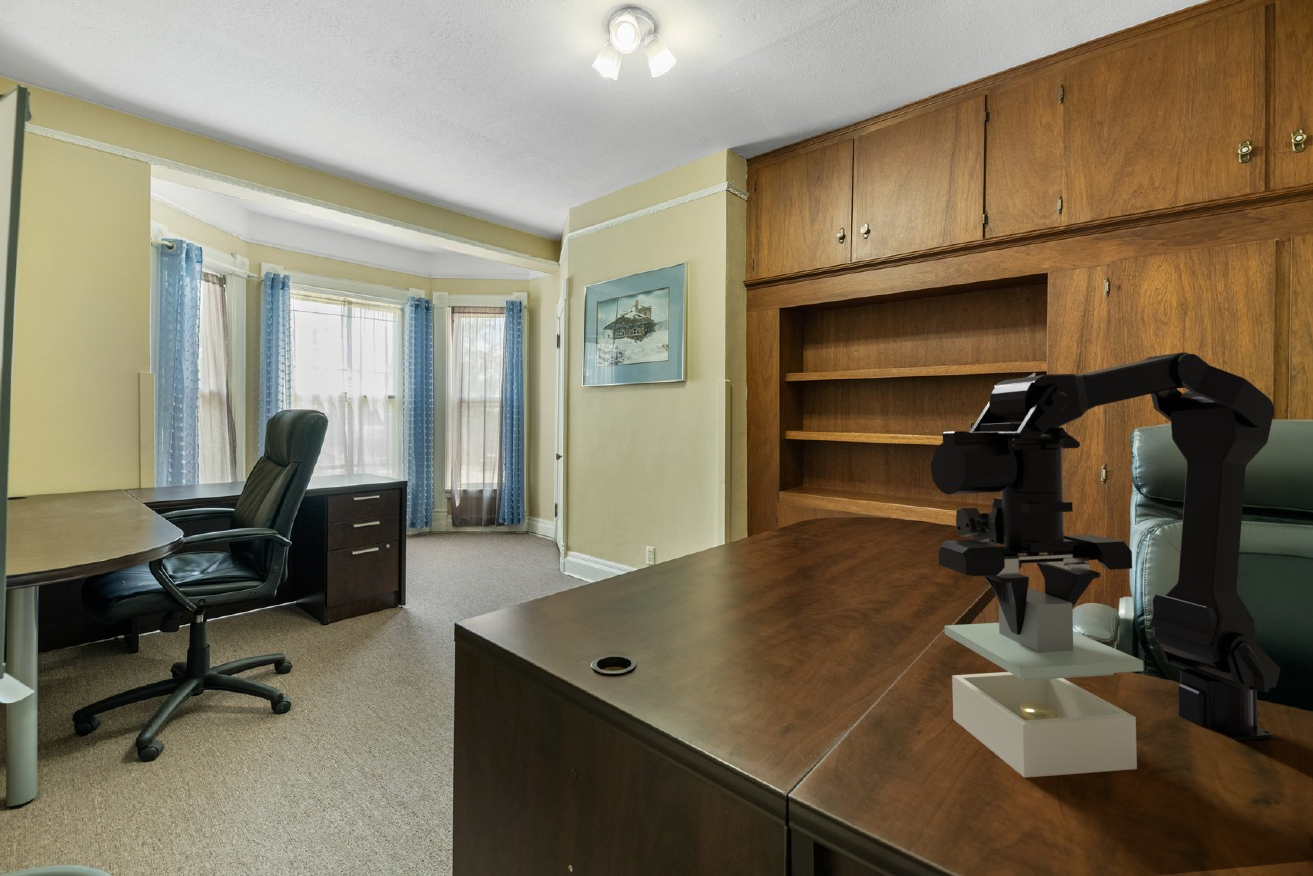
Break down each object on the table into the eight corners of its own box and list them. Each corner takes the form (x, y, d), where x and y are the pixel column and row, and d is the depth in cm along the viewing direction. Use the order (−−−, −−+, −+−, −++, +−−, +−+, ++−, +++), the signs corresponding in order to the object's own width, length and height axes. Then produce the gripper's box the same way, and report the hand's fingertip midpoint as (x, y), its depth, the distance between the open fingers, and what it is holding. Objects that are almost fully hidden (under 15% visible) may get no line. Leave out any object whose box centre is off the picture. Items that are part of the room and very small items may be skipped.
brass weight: (1042, 727, 67) (1041, 701, 67) (1066, 743, 64) (1066, 716, 64) (1012, 729, 67) (1012, 703, 67) (1035, 745, 64) (1034, 718, 64)
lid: (1046, 636, 71) (1045, 579, 71) (1143, 680, 58) (1142, 611, 58) (944, 642, 70) (943, 584, 70) (1020, 688, 57) (1019, 617, 57)
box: (1047, 719, 71) (1046, 669, 71) (1136, 776, 59) (1135, 717, 59) (953, 725, 70) (952, 675, 70) (1024, 785, 58) (1023, 724, 58)
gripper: (1055, 482, 73) (1058, 607, 73) (911, 487, 72) (914, 614, 72) (1135, 490, 62) (1138, 637, 62) (967, 496, 60) (971, 647, 61)
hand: (1034, 632), depth 64 cm, fingers closed on lid, 4 cm apart
